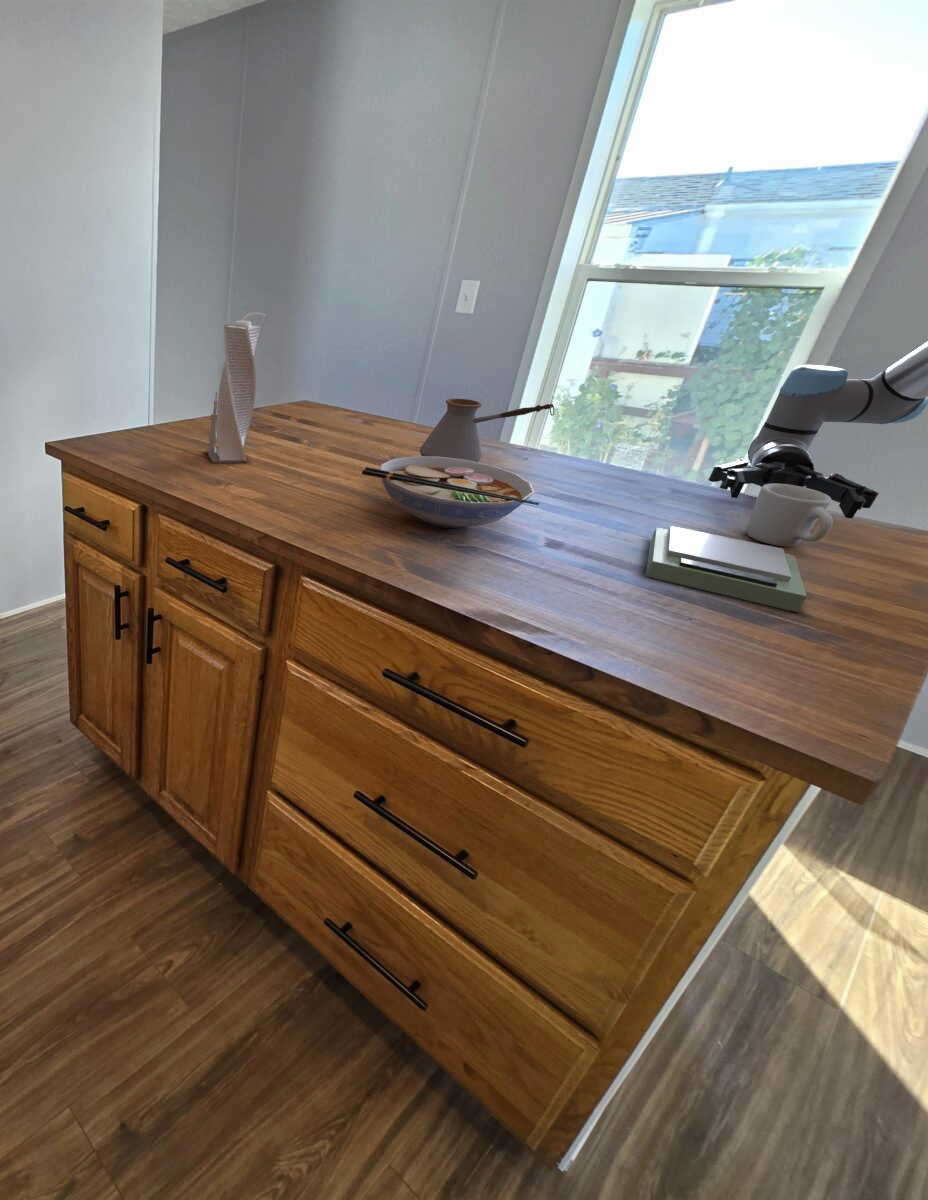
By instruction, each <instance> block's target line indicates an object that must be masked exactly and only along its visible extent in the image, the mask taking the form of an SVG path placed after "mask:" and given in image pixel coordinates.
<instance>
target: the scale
mask: <svg viewBox="0 0 928 1200" xmlns="http://www.w3.org/2000/svg"><path fill="white" fill-rule="evenodd" d="M646 563H647V564H646V570H645V577H647V578H652V579H656V580H659V581H665V582H668V583H671V584H672V583H673V584H676V585H681V586H685V587H689V588H694V589H697V590H702V591H706V592H711V593H715V594H718V595H722V596H727V597H731V598H735V599H740V600H744V601H747V602H751V603H756V604H760V605H765V606H769V607H773V608H777V609H782V610H785V611H789V612H794V613H798V612H799V611H800V608H801V607H802V605H803V604H804V602H805V600H806V599H807V598H808V595H807V592H806V589H805V585H804V583H803V580H802V576H801V574H800V571H799V568H798V564H797V561H796V558H795V555H793V554H788V553H785V551H784V548H782V547H778V546H773V545H768V544H761V543H758V542H757V543H756V542H751V541H747V540H742V539H738V538H737V539H736V538H731V537H727V536H724V535H723V536H721V535H717V534H713V533H707V532H702V531H697V530H693V529H688V528H682V527H677V526H673V525H670V526H669V528H668V529H665V528H661V527H655V529H654V532H653V534H652V537H651V539H650V542H649V548H648V554H647V562H646Z"/></svg>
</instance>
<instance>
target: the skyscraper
mask: <svg viewBox="0 0 928 1200" xmlns="http://www.w3.org/2000/svg"><path fill="white" fill-rule="evenodd" d="M250 316H251V317H252V316H263V318H262V321H261V323H260V325H252V321H250V320H246V319H247V318H248V317H250ZM267 317H268V315H267V314H266V313H265V312H262V311H251V312H248V313H247V314H245V315H243V316H242V318H241V319H240V320H236V321H235V322H227V323H225V324H224V325H223V339H224V340H223V341H224V355H225V359H224V362H223V365H222V366H223V367H222V370H221V376H220V380H219V387H218V391H215V398H214V401H213V411H212V413H211V415H210V418H211V419H210V427H209V428H210V430H209V435H208V440H209V441H208V448H207V450H206V454H207V455H208V457H209V459H210V461H211V463H213V464H219V463H221V464H223V463H225V464H227V463H229V464H230V463H232V464H233V463H237V464H238V463H239V464H240V463H242V464H243V463H247V458H246V457H247V456H246V453H245V449H244V448H245V444H246V442H247V441H246V440H247V438H248V434H249V432H250V431H249V430H250V426H251V422H252V417H253V412H254V408H255V400H256V390H257V389H256V388H257V386H256V385H257V378H256V375H257V374H256V365H255V356H256V352H257V348H258V345H259V341H260V337H261V334H262V330H263V327H264V324H265V322H266V319H267ZM217 440H218V441H217ZM217 442H218V447H217Z"/></svg>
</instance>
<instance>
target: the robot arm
mask: <svg viewBox="0 0 928 1200" xmlns="http://www.w3.org/2000/svg"><path fill="white" fill-rule="evenodd" d="M848 376H849V371H848V370H846V369H845V368H842V367H836V366H829V365H818V364H817V365H816V364H801V365H798V366H796V367H793V369H792V370H791V371H790V373H789V374H788V376H786V379H785V381H784V383H783V384H782V386H781V387H780V389H779V392H778V394H777V397H776V399H775V401H774V402H773V403H774V404H773V406H772V407H771V409H770V412H769V413H768V416H767V418H766V420H765V422H764V423H763V425H762V426H761V429H760V430H759V433H758V434H757V435H756V437H754V439H753V440H752V441H751V443H750V445H749V447H748V449H747V460H748V461H746V459H744V458H737V459H736V460H735V461H731V462H727V463H722V464H719V465H714V466H713V469H712V471H711V473H710V475H709V478H708V479H707V480H708V481H709V482H711V483H718V482H721V483H720V485H719V487H718V488H719V489H722V490H728V489H729V492H730V497H731V498H733V499H738V498H739V496H740V494H741V492H742V489H743V488H744V486H745V485H749V484H753V485H755V486H759V487H760V488H761V487H762V486H763V485H766V484H787V485H794V486H800V487H805V488H809V489H812V490H816V491H819V492H822V493H824V494H826V495H828V496H829V497H830V498H831V500H832V501H834V502H836V503H839V505H838V506H839V509H840V510H841V512H842V515H843V516H844V518H846V519H851V520H852V519H853V518H854V517H855V515H856V513H857V512H858V511H860V510H862V509H871V507H872V505H873V504H874V502H875V501H876V499H877V497H878V496H879V494H880V493H879V492H877V491H875V490H874V489H871V488H868V487H867V486H865V485H861V484H859V483H857V482H855V481H852V480H850V479H848V478H846V477H844V476H843V475H842V474H840V473H831V474H830V475H829V476H828V477H826V476H825V475H824V474H823V473H821V472H818V471H816V470H815V463H814V461H813V458H812V457H811V454H810V453H809V451H808V450H809V448H810V446H811V444H812V442H813V441H814V439H815V437H816V435H817V434H818V432H819V430H820V429H821V427H822V426H823V424H824V423H850V424H851V423H854V424H855V423H856V424H873V425H885V424H886V425H887V424H899V423H905V422H908V421H911V420H913V419H915V418H917V417H918V416H919V415H921V414H922V413H923V411H924V410H925V408H926V407H928V341H926V342H924V343H923V344H922V345H921V346H919V347H917V348H916V349H915V350H913V351H911V352H910V353H908V354H907V355H905V356H904V357H903V358H901V359H899V360H898V361H896V362H895V363H893V364H892V365H890V366H889V367H887V368H886V369H884V370H883V371H881V372H880V373H878V374H877V375H875V376H874V377H871V378H848Z"/></svg>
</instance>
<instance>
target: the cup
mask: <svg viewBox="0 0 928 1200" xmlns="http://www.w3.org/2000/svg"><path fill="white" fill-rule="evenodd" d="M832 501H833V500H831V498H830V497H829V496H828V495H826V494H824V493H822V492H819V491H816V490H812V489H809V488H806V486H804V487H800V486H794V485H787V484H766V485H763V486H762V487H760V490H759V492H758V495H757V497H756V501H755V503H754V506H753V508H752V511H751V514H750V516H749V519H748V521H747V525H746V531H745V532H746V534H747V536H749V537H750V538H751V539H754V540H756V541H758V542H761V543H763V544H766V545H770V546H775V547H793V546H797V545H798V544H799V543H801V542H802V541H804V542H817V541H818V542H819V541H820V540H822V539H823V538H824V537H826V536H827V534H828V533H830V530H831V529H832V527H833V524H834V519H833V517H832V515H831V514H830V513H829V512H828V511H826V509H827V508H828V507H829V505H830V504H831V503H832ZM818 520H819V521H820V524H819V527H818V528H817V530H816V531H815V532H814V534H812V535H811V534H810V533H811V532H810V531H811V530H812V528H813V527H814V526H815V524H816V523H817V522H818Z"/></svg>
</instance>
